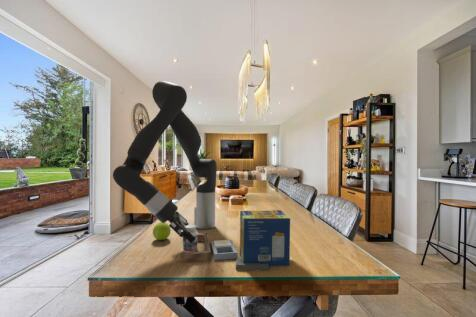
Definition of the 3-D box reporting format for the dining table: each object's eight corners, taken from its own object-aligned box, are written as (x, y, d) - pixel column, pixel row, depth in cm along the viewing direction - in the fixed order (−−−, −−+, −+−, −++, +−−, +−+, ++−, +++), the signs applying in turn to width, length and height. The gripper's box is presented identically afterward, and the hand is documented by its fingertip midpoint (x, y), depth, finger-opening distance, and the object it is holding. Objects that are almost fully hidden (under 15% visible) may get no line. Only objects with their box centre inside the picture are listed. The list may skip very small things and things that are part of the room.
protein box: (239, 253, 83) (239, 210, 83) (281, 252, 85) (281, 210, 84) (242, 267, 73) (242, 218, 73) (290, 266, 74) (291, 217, 74)
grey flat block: (235, 269, 71) (235, 264, 71) (236, 262, 76) (236, 258, 76) (268, 271, 71) (268, 266, 71) (267, 263, 76) (267, 259, 76)
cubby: (180, 262, 76) (181, 254, 76) (182, 241, 95) (182, 234, 95) (210, 260, 78) (211, 252, 78) (206, 239, 97) (206, 233, 97)
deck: (214, 260, 78) (214, 253, 78) (210, 246, 89) (210, 240, 89) (237, 258, 79) (237, 251, 79) (231, 245, 91) (231, 239, 91)
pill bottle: (184, 247, 88) (184, 224, 88) (198, 247, 89) (198, 224, 89) (182, 253, 83) (182, 228, 83) (196, 253, 83) (197, 228, 83)
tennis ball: (172, 240, 95) (172, 223, 95) (154, 243, 91) (154, 226, 91) (168, 235, 101) (168, 219, 101) (151, 238, 97) (151, 221, 97)
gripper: (167, 203, 77) (201, 235, 79) (170, 195, 91) (200, 223, 93) (150, 219, 76) (185, 252, 78) (156, 209, 90) (186, 237, 92)
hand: (193, 236), depth 86 cm, fingers open, 8 cm apart
